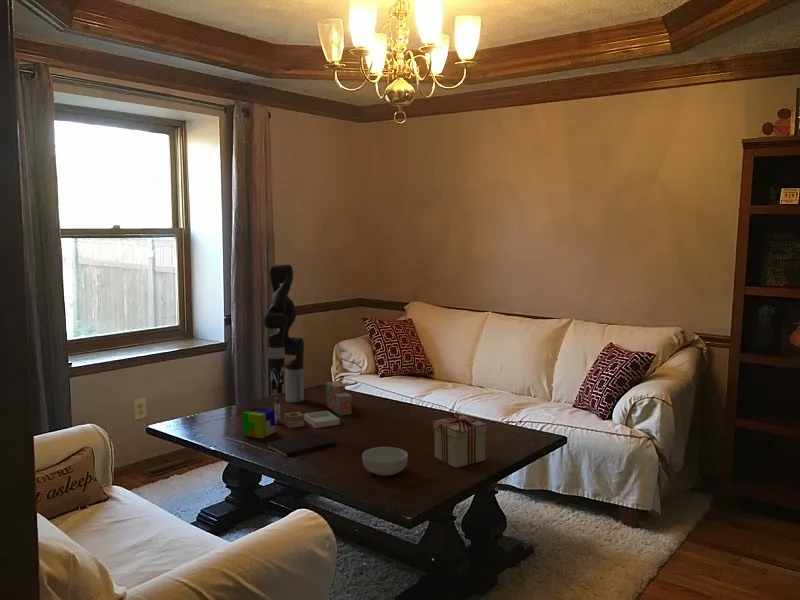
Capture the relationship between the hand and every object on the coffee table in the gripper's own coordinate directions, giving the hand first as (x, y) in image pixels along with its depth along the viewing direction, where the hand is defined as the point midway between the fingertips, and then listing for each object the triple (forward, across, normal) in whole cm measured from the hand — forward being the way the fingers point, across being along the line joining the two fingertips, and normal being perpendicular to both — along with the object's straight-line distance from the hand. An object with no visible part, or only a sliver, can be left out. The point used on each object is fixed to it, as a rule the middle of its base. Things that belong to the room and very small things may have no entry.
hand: (276, 391), depth 308 cm
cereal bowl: (+16, +79, +17) cm, 82 cm away
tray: (+15, +7, +19) cm, 25 cm away
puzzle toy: (+15, +12, -12) cm, 23 cm away
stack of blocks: (+15, -10, +34) cm, 39 cm away
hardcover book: (+16, +37, -1) cm, 40 cm away
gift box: (+16, +80, +48) cm, 95 cm away
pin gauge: (+15, 0, 0) cm, 15 cm away
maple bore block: (+15, +6, +6) cm, 17 cm away
